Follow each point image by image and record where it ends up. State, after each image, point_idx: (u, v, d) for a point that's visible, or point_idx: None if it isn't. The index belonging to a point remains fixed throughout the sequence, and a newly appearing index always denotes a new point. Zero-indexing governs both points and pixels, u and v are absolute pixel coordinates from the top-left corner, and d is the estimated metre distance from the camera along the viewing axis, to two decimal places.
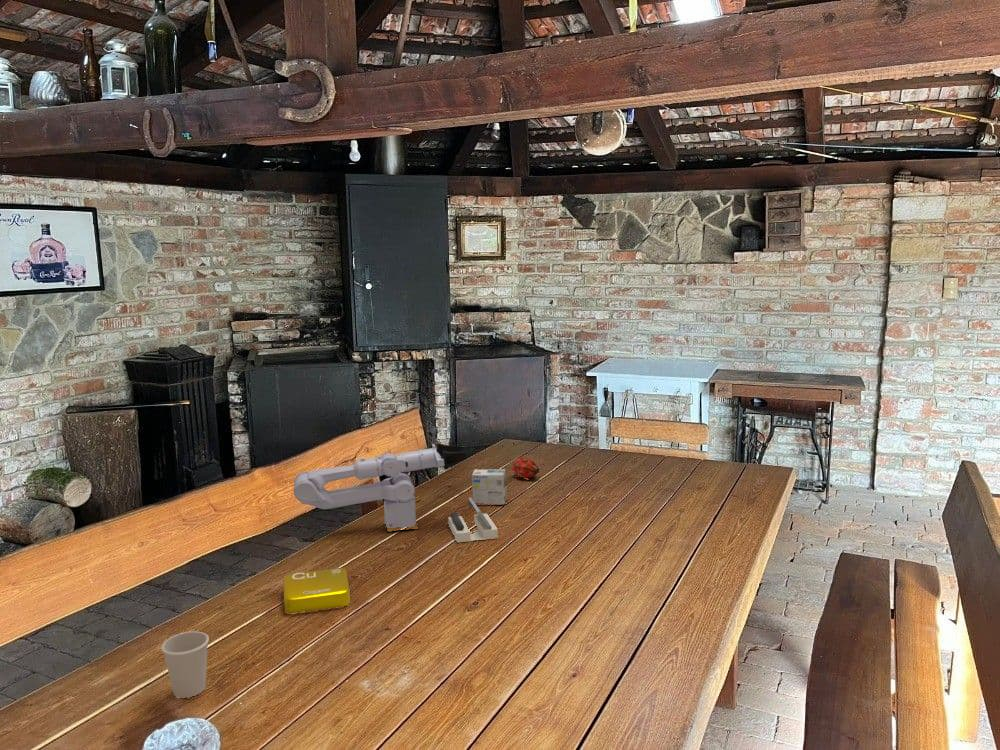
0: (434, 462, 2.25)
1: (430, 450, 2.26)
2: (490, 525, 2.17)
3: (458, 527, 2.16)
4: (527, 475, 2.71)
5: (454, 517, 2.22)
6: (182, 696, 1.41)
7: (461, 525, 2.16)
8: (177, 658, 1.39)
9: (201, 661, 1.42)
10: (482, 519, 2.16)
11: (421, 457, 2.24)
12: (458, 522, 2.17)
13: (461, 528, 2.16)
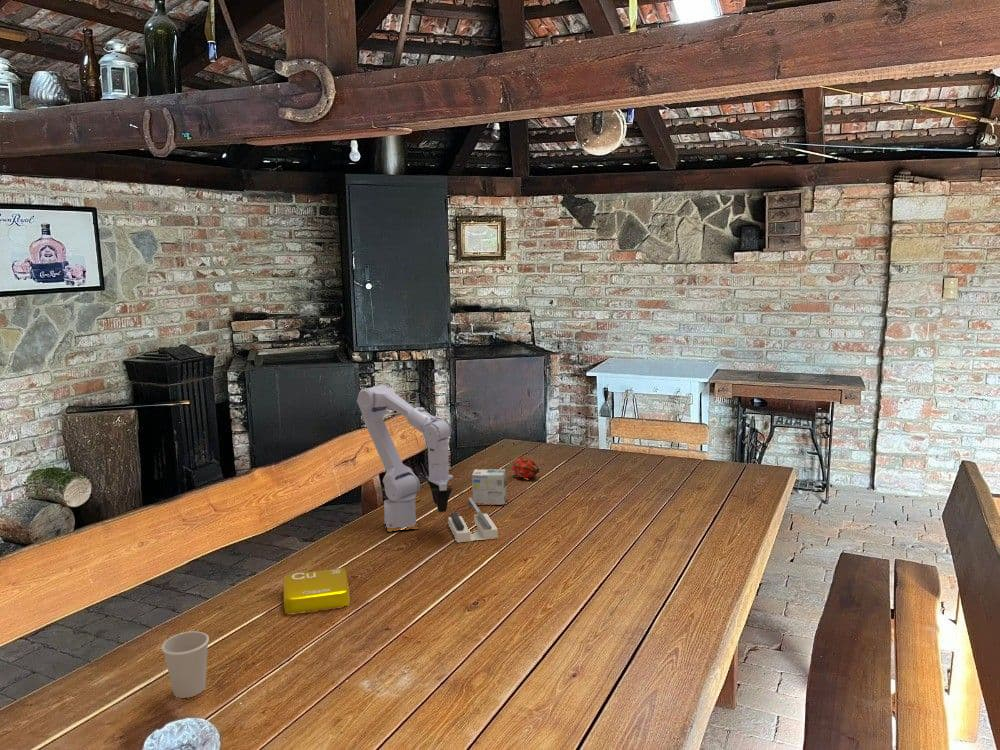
0: (437, 478, 2.15)
1: (448, 473, 2.17)
2: (490, 525, 2.17)
3: (458, 527, 2.16)
4: (527, 475, 2.71)
5: (454, 517, 2.22)
6: (182, 696, 1.41)
7: (461, 525, 2.16)
8: (177, 658, 1.39)
9: (201, 661, 1.42)
10: (482, 519, 2.16)
11: (444, 465, 2.15)
12: (458, 522, 2.17)
13: (461, 528, 2.16)
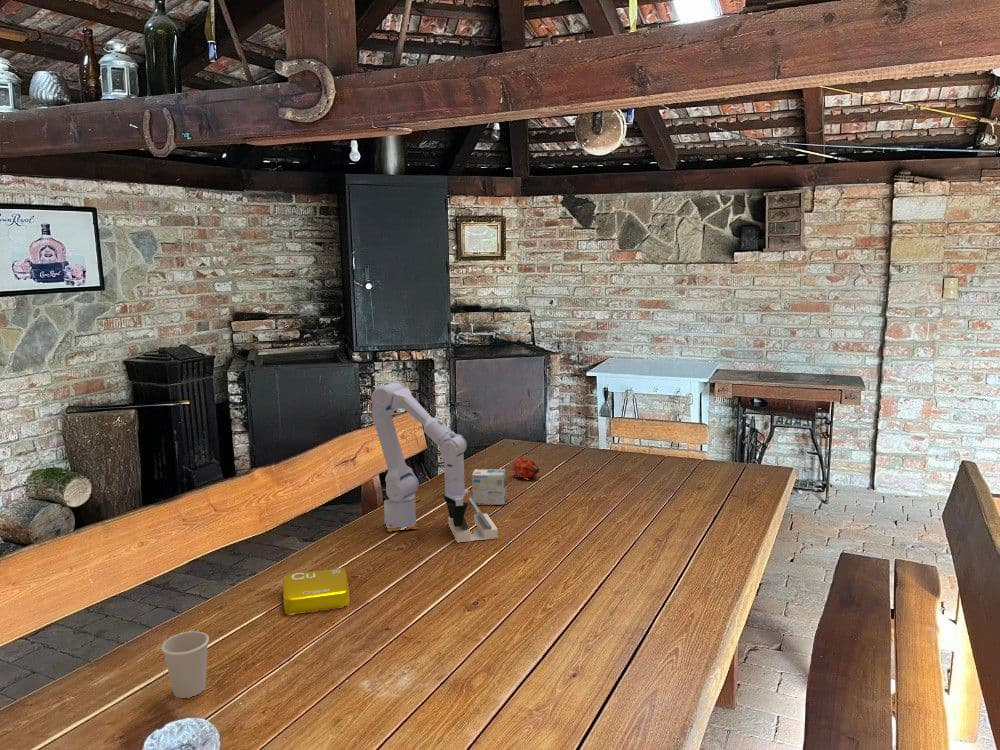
0: (453, 493, 2.16)
1: (464, 488, 2.19)
2: (490, 525, 2.17)
3: (463, 526, 2.16)
4: (527, 475, 2.71)
5: None
6: (182, 696, 1.41)
7: (466, 525, 2.16)
8: (177, 658, 1.39)
9: (201, 661, 1.42)
10: (482, 519, 2.16)
11: (460, 480, 2.16)
12: (463, 522, 2.18)
13: (465, 528, 2.16)
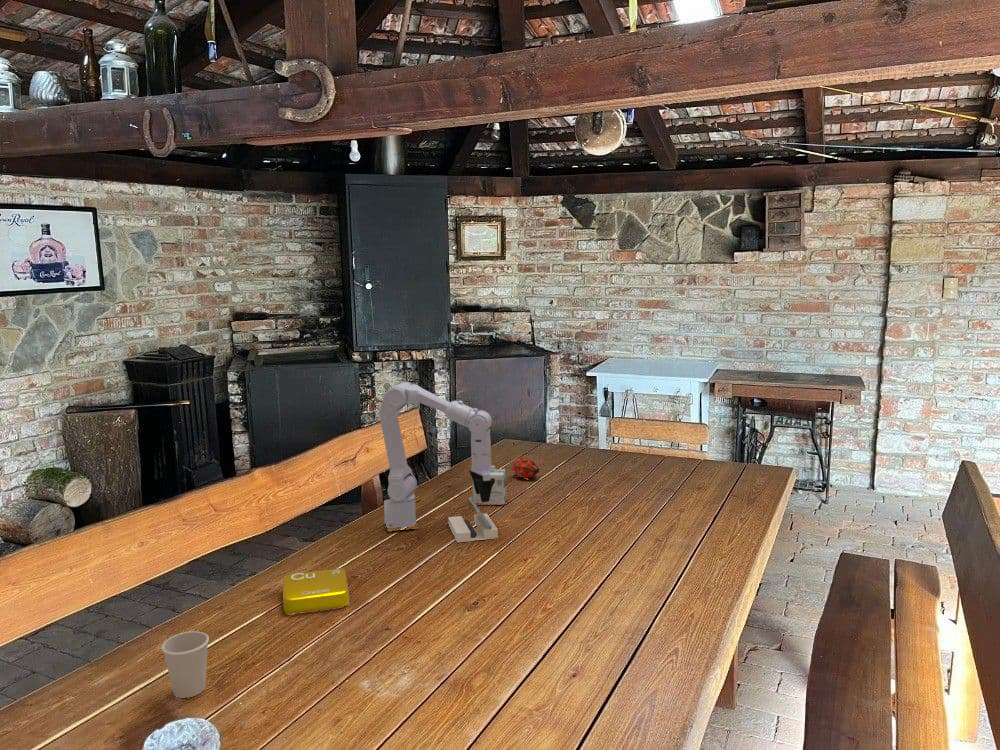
0: (480, 468, 2.17)
1: (490, 464, 2.19)
2: (490, 525, 2.17)
3: (471, 534, 2.17)
4: (527, 475, 2.71)
5: (467, 524, 2.23)
6: (182, 696, 1.41)
7: (474, 532, 2.17)
8: (177, 658, 1.39)
9: (201, 661, 1.42)
10: (482, 519, 2.16)
11: (487, 455, 2.17)
12: (471, 529, 2.18)
13: (474, 535, 2.17)
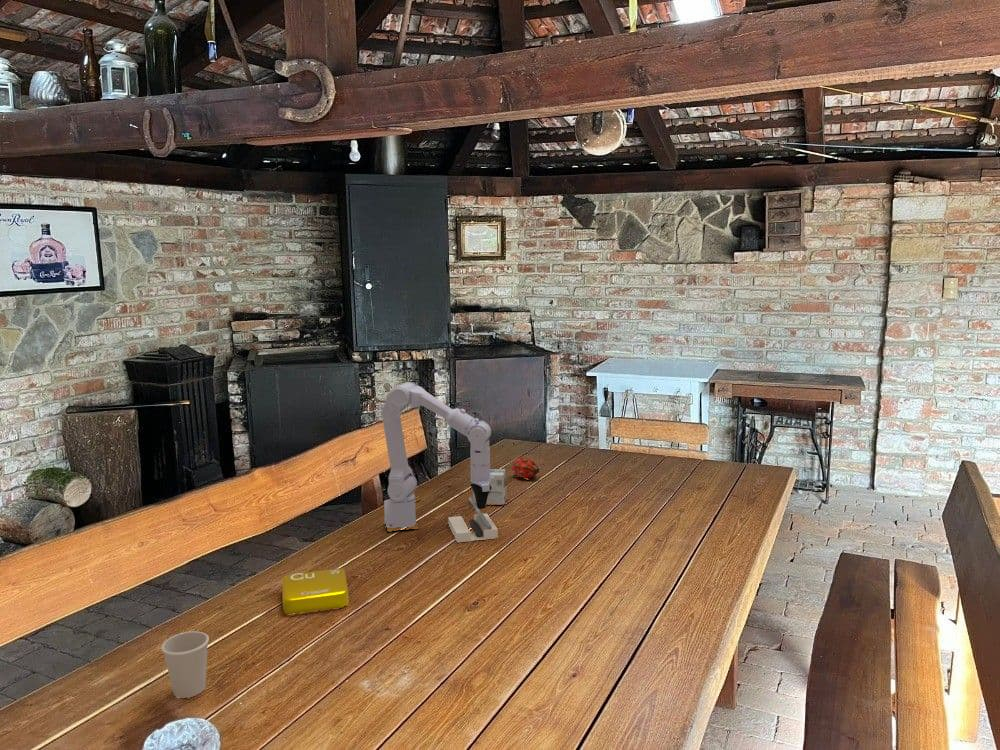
0: (480, 479, 2.18)
1: None
2: (490, 525, 2.17)
3: (480, 532, 2.18)
4: (527, 475, 2.71)
5: (477, 525, 2.24)
6: (182, 696, 1.41)
7: (480, 535, 2.18)
8: (177, 658, 1.39)
9: (201, 661, 1.42)
10: (482, 519, 2.16)
11: (486, 466, 2.18)
12: None
13: (478, 534, 2.17)
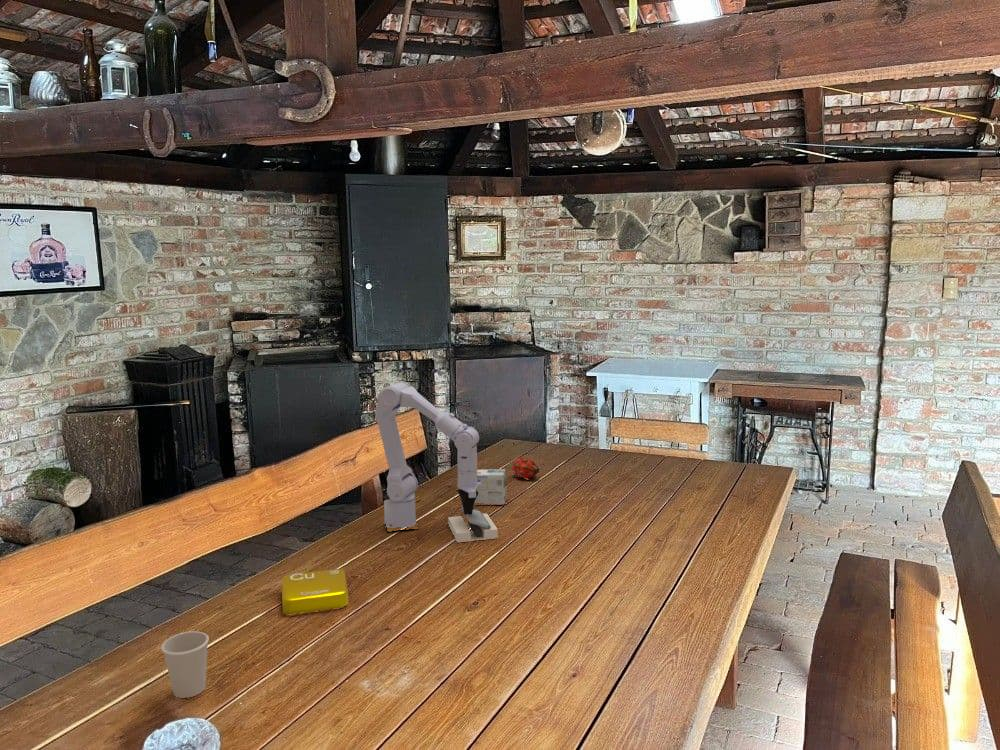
0: (466, 485, 2.17)
1: None
2: (488, 524, 2.17)
3: (479, 532, 2.17)
4: (527, 475, 2.71)
5: None
6: (182, 696, 1.41)
7: (480, 535, 2.18)
8: (177, 658, 1.39)
9: (201, 661, 1.42)
10: None
11: (473, 472, 2.17)
12: (480, 531, 2.19)
13: (477, 534, 2.17)
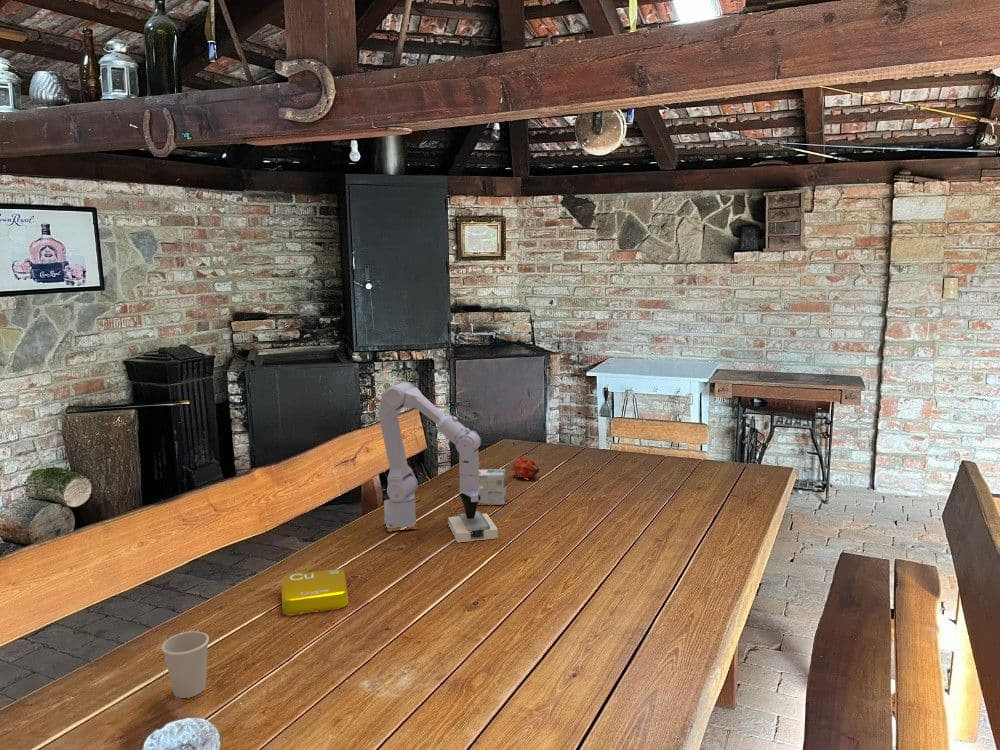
0: (468, 489, 2.17)
1: None
2: (487, 524, 2.17)
3: (477, 532, 2.17)
4: (527, 475, 2.71)
5: None
6: (182, 696, 1.41)
7: (479, 534, 2.18)
8: (177, 658, 1.39)
9: (201, 661, 1.42)
10: None
11: (475, 476, 2.17)
12: None
13: (476, 535, 2.17)
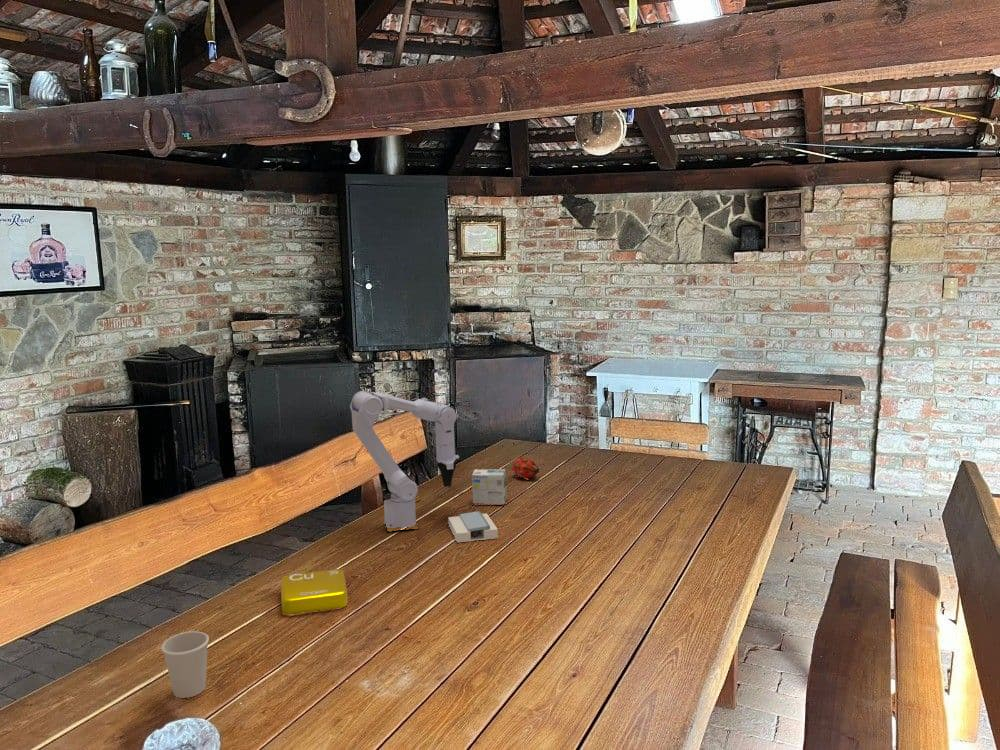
0: (444, 458, 2.30)
1: (454, 454, 2.32)
2: (487, 524, 2.17)
3: (473, 533, 2.17)
4: (527, 475, 2.71)
5: None
6: (182, 696, 1.41)
7: (476, 533, 2.17)
8: (177, 658, 1.39)
9: (201, 661, 1.42)
10: None
11: (451, 446, 2.30)
12: None
13: (475, 535, 2.17)
